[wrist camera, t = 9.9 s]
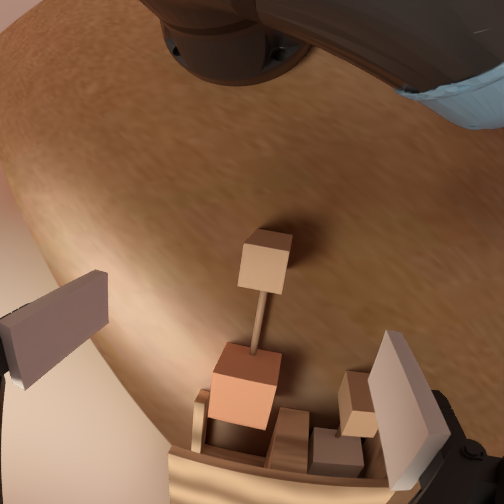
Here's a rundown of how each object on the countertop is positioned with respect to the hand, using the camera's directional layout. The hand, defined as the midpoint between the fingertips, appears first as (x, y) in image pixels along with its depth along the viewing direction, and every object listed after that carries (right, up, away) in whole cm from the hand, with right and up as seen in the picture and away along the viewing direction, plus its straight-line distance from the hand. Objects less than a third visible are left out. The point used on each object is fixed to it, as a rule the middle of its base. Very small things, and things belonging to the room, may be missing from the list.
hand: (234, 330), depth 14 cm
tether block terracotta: (+2, -4, +19) cm, 19 cm away
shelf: (+5, -20, +22) cm, 31 cm away
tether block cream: (+12, -17, +20) cm, 29 cm away
